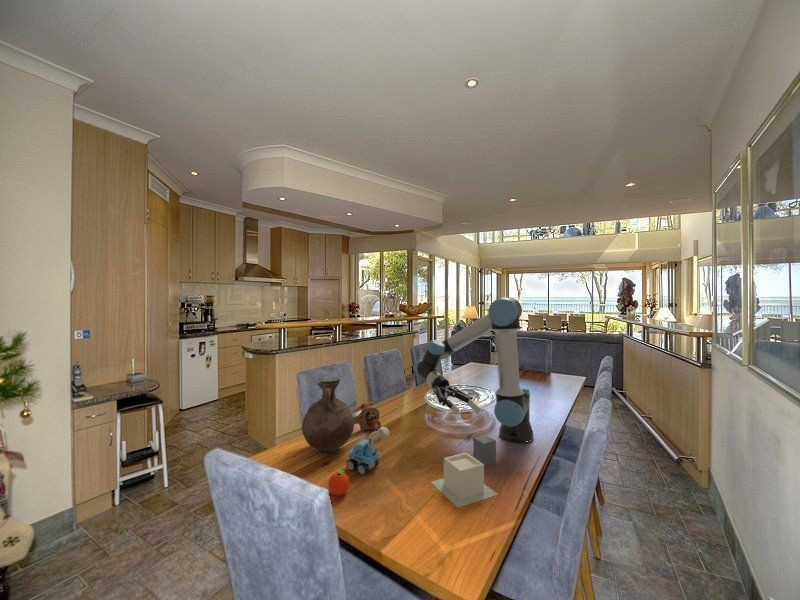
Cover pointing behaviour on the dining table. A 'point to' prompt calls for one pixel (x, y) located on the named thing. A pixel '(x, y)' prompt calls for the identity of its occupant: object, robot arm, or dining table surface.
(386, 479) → the dining table surface
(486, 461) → the charcoal brick
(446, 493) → the green baseplate
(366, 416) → the toy helicopter
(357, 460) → the toy excavator
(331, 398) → the jug
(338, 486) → the clementine
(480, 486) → the cream base brick
